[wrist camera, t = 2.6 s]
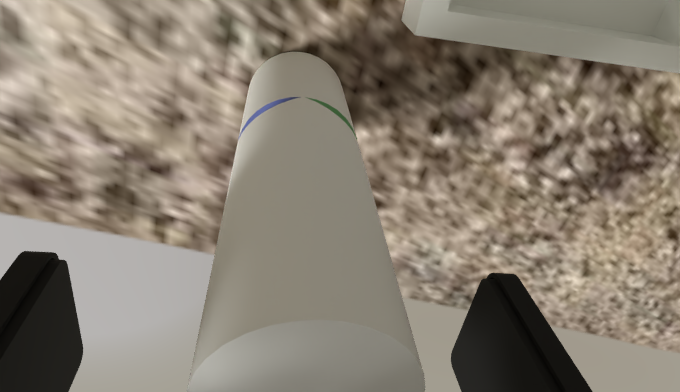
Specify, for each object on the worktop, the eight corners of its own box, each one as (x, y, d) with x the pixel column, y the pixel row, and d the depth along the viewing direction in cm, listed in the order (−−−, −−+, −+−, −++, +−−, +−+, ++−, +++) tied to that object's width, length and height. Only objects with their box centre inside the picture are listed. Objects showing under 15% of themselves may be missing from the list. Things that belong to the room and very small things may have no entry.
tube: (336, 145, 22) (399, 462, 10) (246, 138, 22) (190, 468, 9) (349, 57, 20) (451, 323, 8) (249, 46, 19) (180, 316, 7)
